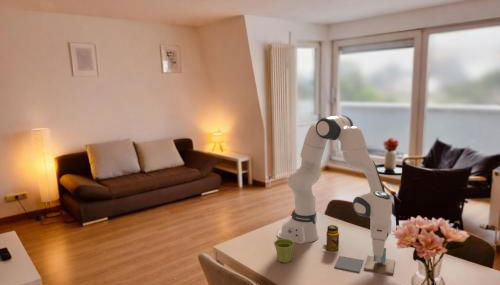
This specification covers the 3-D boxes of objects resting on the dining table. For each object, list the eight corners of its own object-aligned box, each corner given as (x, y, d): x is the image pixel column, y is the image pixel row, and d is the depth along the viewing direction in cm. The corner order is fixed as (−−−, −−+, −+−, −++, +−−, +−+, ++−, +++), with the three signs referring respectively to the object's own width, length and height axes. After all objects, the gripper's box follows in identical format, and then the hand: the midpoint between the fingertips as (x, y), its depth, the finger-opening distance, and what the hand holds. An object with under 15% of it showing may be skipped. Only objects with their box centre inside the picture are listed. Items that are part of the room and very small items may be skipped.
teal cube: (373, 261, 158) (373, 250, 157) (374, 256, 162) (375, 246, 161) (384, 263, 156) (385, 252, 155) (385, 258, 160) (386, 248, 159)
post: (363, 269, 157) (364, 255, 155) (367, 257, 167) (367, 243, 166) (392, 275, 151) (393, 260, 150) (394, 262, 162) (395, 248, 161)
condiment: (339, 253, 172) (339, 230, 170) (321, 251, 175) (321, 228, 173) (339, 246, 179) (340, 224, 177) (323, 245, 182) (323, 223, 179)
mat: (334, 268, 159) (334, 266, 159) (339, 256, 169) (339, 255, 169) (359, 272, 154) (359, 271, 154) (362, 261, 164) (362, 259, 164)
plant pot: (271, 257, 170) (270, 241, 169) (288, 253, 174) (287, 237, 172) (280, 266, 162) (279, 249, 160) (297, 262, 165) (297, 244, 164)
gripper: (375, 218, 167) (375, 245, 169) (370, 235, 149) (369, 265, 151) (390, 220, 164) (389, 247, 166) (386, 238, 146) (385, 268, 148)
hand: (379, 256), depth 159 cm, fingers open, 8 cm apart
